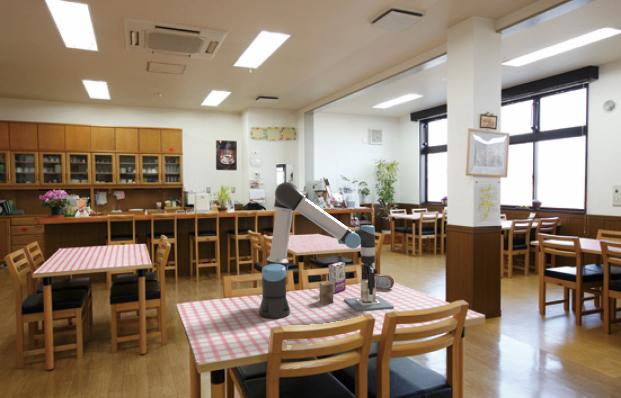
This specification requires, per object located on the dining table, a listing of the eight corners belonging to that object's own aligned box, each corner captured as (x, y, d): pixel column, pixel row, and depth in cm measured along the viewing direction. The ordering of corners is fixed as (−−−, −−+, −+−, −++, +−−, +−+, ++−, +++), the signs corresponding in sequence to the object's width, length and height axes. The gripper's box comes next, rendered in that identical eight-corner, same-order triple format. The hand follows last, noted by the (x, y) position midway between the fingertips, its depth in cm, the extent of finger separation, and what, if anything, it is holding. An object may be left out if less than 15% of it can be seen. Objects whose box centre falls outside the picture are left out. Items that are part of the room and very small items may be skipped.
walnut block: (322, 303, 215) (322, 285, 215) (319, 300, 221) (319, 282, 221) (333, 303, 217) (333, 284, 216) (330, 299, 222) (330, 281, 222)
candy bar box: (338, 288, 247) (338, 261, 246) (345, 289, 244) (345, 262, 243) (328, 292, 238) (328, 264, 238) (335, 293, 235) (335, 265, 235)
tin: (394, 289, 244) (394, 275, 244) (392, 290, 242) (392, 276, 241) (371, 286, 252) (371, 272, 252) (369, 287, 250) (368, 273, 250)
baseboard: (356, 311, 201) (356, 309, 201) (344, 300, 221) (344, 298, 221) (393, 308, 206) (393, 306, 206) (378, 297, 225) (378, 296, 225)
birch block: (364, 301, 210) (364, 282, 210) (360, 298, 216) (360, 279, 215) (375, 300, 211) (375, 281, 211) (371, 297, 217) (371, 279, 217)
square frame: (362, 305, 207) (362, 304, 207) (355, 300, 217) (355, 298, 217) (380, 304, 210) (380, 302, 210) (373, 299, 219) (373, 297, 219)
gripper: (381, 257, 204) (381, 303, 205) (368, 251, 223) (368, 293, 223) (367, 258, 203) (367, 304, 203) (355, 252, 221) (355, 294, 222)
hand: (368, 298), depth 213 cm, fingers closed on birch block, 6 cm apart
